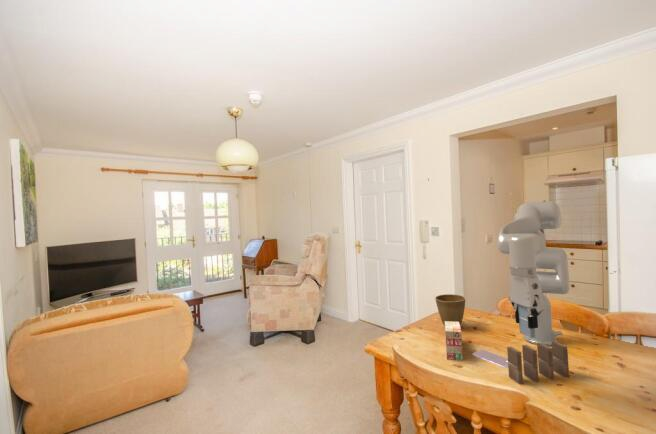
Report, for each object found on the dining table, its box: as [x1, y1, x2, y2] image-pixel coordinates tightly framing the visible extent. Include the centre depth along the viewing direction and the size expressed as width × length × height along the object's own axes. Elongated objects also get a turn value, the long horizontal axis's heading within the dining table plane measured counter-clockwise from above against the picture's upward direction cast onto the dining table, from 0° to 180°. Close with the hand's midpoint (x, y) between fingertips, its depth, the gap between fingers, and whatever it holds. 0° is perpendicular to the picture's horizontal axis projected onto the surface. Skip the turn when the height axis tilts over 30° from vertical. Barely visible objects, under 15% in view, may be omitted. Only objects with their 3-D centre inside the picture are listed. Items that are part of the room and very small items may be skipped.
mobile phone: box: [471, 349, 508, 368], centre depth 131 cm, size 8×1×15 cm
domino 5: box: [551, 341, 570, 379], centre depth 116 cm, size 2×5×11 cm, turn 7°
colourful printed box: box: [444, 321, 464, 362], centre depth 141 cm, size 21×6×12 cm, turn 161°
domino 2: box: [518, 304, 535, 338], centre depth 108 cm, size 2×5×11 cm, turn 9°
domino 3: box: [521, 344, 540, 383], centre depth 114 cm, size 2×5×11 cm, turn 7°
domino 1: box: [506, 346, 524, 385], centre depth 113 cm, size 2×5×11 cm, turn 7°
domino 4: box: [536, 343, 555, 381], centre depth 115 cm, size 2×5×11 cm, turn 7°
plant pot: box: [434, 293, 466, 328], centre depth 168 cm, size 15×15×16 cm
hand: (526, 324), depth 108 cm, fingers closed on domino 2, 4 cm apart
